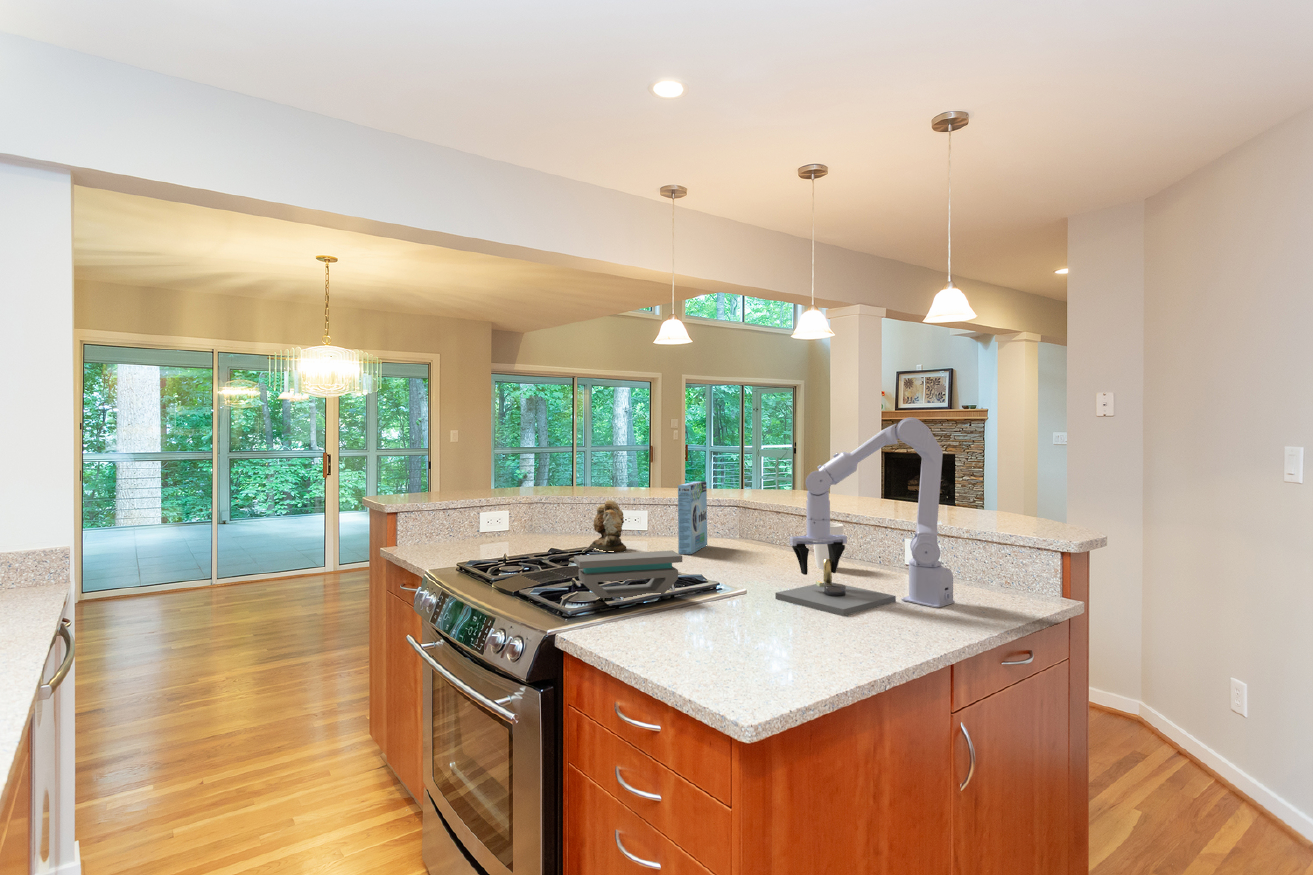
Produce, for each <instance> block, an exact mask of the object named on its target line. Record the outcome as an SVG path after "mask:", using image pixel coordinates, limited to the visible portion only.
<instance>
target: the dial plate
mask: <svg viewBox="0 0 1313 875" xmlns="http://www.w3.org/2000/svg"><path fill="white" fill-rule="evenodd" d="M831 583H834V582H831ZM824 585H825V582H824V581H821V580H816V581H815V584H810V585H805V586H801V587H796V588H791V589H786V590H781V591H777V592H775V593H774V594H775V600H779V601H782V602H786V603H790V604H794V605H798V606H802V607H806V608H810V609H814V610H818V611H822V612H825V613H830V614H833V615H837V616H842V617H844V616H848V615H852V614H856V613H861V612H864V611H867V610H871V609H874V608H879V607H882V606H887V605H889V604H893V603H896V602H897V601H896V600H897V598H896V597H897V596H896V595H893V594H889V593H884V592H879V591H875V590H869V589H865V588H860V587H856V586H851V585H845V584H844V585H845V586H846V595H844V596H829V595H826V594H824Z"/></svg>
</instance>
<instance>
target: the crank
mask: <svg viewBox="0 0 1313 875" xmlns="http://www.w3.org/2000/svg"><path fill="white" fill-rule="evenodd" d="M832 574H833V573H832V559H824V570H823V582H825V585H824V594H826V595H829V596H844V595H846V586H845V584H843V583H836V582H833V583H831V582H832V581H833V575H832Z"/></svg>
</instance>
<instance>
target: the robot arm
mask: <svg viewBox="0 0 1313 875" xmlns="http://www.w3.org/2000/svg"><path fill="white" fill-rule="evenodd" d="M898 440H899V441H901V442H902V443H904V444H905V445H907V446H908V447H911V448H912V449H913V451H914V452H916V454H917V455H919V456H920V458H921V464H920V478H919V490H918V503H917V515H916V526H915V534H914V536H913V537H912V539H911V540H910V551H911V555H912V558H911V559H910V560H909V561H908V596H905V597H901V599H900V600H901V601H905V602H909V603H913V604H918V605H923V606H927V607H932V608H942V607H945V606H949V605H953V604H954V603H955V602H956V601H955V600H954V575H953V571H952V570H951V568H948V567H944V566H943V565H942V562H941V561H940V558H941V548H940V546H939V544H938V520H939V504H940V494H941V493H940V492H941V480H942V467H943V455H944V454H943V449H942V447H941V445H940V443H939V442H938V441H937V439H936V437H935V436H934V434H933V433H932V431H931V429H930V428H929V426H927V424H925V423H924V422H922V421H921V420H920V419H919V418H916V417H911V416H910V417H905V418H903V419H901V420H900V421H899V422H898V423H894V424H892V425H889V426H887V427H886V428H884V429H882V430H880V431H878V433H876V434H875V435H873V436H872V437H870V438H869V439H868V440H866V441H865V442H863V443H862V444H861V445H860V446H858V447H857V448H856V449H854V450H852V451H851V452H846V451H841V452H840V453H838V452H836V453H834V454H833V455H832V456H833V458H831V459H829V461H827V462H825V463H824V464H819V465H818V466H817V469H818V470H813V471H811V472H810V473H809V474H808V475H807V477H806V478H805V486H806V487H805V488H806V490H807V492H806V499H807V500H806V535H798V536H789V545H790V546H791V548H792V550H793V552H794V555H796V558H797V561H798V565H799V568H800V573H801V574H802V575H805V576H808V573H809V572H808V568H809V567H808V566H809V565H808V561H809V560H808V559H809V554H810V553H809V551H810V548H809V547H807V546H809V545H810V546H811V545H813V544H827V546H828V551H829V559H832V574H836V572H837V570H838V569H837V565H838V566H839V564H838V562H839V563H840V559H841V556H842V555H843V552H844V551H845V549H846V545H845V544H847V543H848V536H847V535H844V534H842V535H830V523H831V501H830V491H829V489H831V486H832V485H834V486H836V485H838V484H839V483H841V482H842V481H844V480H845V479H846V478H848V477H850V476H852V474H853V473H855V472H857V469H858V464H859V463H860V462H862V461H863V460H864V459H866V458H867V457H869V456H871V455H872V454H874V453H875V452H877V451H878V450H880V449H882V448H883V447H885V446H888V445H890V446H891V445H896V444H897V445H898V444H899V442H898ZM813 541H815V542H813ZM836 569H837V570H836Z"/></svg>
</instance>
